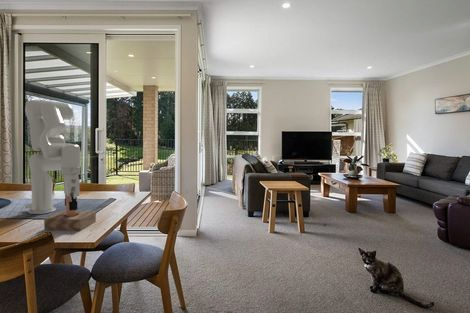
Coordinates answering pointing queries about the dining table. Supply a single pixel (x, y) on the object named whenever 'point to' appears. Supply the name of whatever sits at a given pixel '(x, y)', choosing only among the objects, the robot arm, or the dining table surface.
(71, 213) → the peg
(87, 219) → the socket block
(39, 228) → the dining table surface
